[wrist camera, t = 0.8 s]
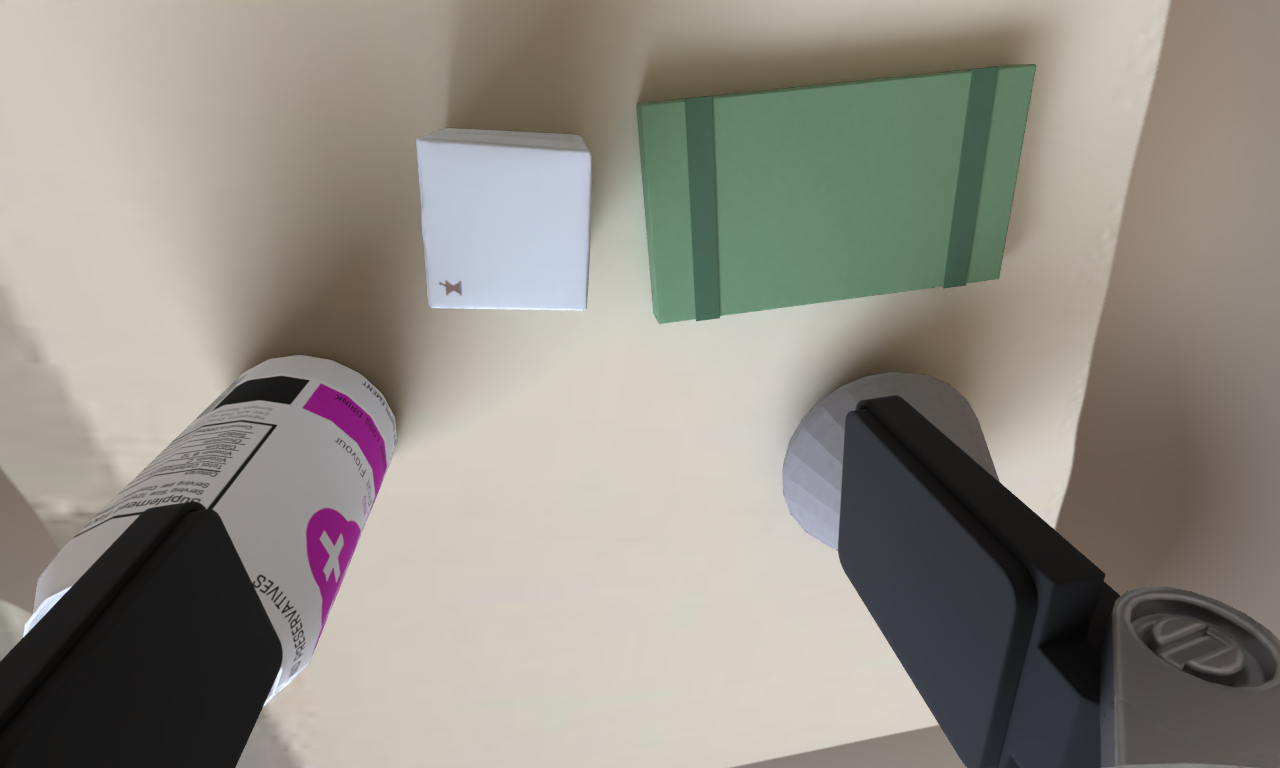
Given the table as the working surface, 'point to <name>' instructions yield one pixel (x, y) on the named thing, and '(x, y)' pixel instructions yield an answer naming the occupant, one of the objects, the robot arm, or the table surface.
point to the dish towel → (830, 189)
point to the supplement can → (265, 491)
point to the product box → (505, 219)
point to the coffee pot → (821, 443)
